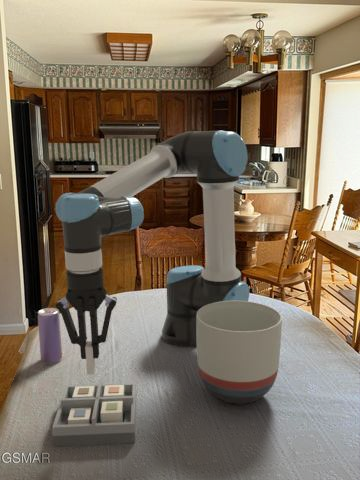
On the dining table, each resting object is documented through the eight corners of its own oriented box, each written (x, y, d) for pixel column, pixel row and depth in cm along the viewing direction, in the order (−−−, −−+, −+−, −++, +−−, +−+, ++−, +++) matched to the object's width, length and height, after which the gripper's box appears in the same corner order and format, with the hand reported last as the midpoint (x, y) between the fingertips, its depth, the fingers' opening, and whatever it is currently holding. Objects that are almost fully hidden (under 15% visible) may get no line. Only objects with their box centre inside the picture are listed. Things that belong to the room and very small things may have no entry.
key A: (124, 397, 114) (124, 384, 114) (123, 407, 110) (123, 394, 109) (105, 397, 114) (105, 384, 113) (103, 408, 110) (103, 394, 109)
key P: (123, 413, 108) (122, 400, 107) (122, 425, 103) (121, 411, 102) (102, 414, 107) (102, 400, 107) (101, 426, 103) (100, 412, 102)
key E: (95, 398, 114) (94, 385, 113) (92, 408, 110) (92, 395, 109) (75, 398, 114) (75, 385, 113) (73, 409, 109) (72, 396, 109)
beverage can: (56, 365, 135) (53, 315, 132) (37, 363, 136) (33, 314, 133) (65, 356, 141) (62, 308, 138) (46, 354, 142) (43, 306, 139)
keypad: (136, 397, 118) (136, 376, 117) (134, 442, 101) (134, 418, 100) (67, 400, 117) (65, 379, 116) (53, 446, 100) (51, 421, 99)
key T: (92, 420, 107) (91, 406, 107) (89, 432, 103) (88, 418, 102) (71, 421, 107) (70, 407, 106) (68, 433, 103) (67, 419, 102)
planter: (196, 374, 130) (196, 300, 125) (271, 375, 129) (274, 300, 124) (196, 418, 110) (196, 331, 105) (285, 419, 109) (289, 332, 105)
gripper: (116, 262, 104) (121, 361, 109) (56, 264, 103) (64, 364, 108) (114, 272, 96) (120, 378, 102) (49, 275, 96) (58, 381, 101)
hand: (91, 371), depth 105 cm, fingers closed
